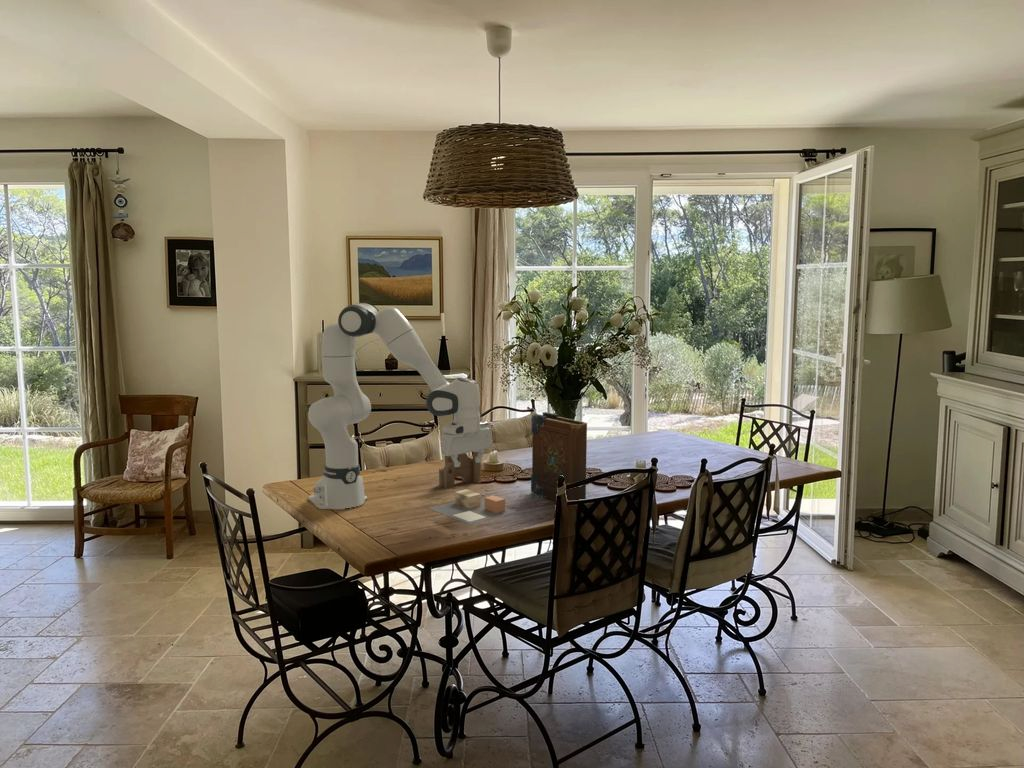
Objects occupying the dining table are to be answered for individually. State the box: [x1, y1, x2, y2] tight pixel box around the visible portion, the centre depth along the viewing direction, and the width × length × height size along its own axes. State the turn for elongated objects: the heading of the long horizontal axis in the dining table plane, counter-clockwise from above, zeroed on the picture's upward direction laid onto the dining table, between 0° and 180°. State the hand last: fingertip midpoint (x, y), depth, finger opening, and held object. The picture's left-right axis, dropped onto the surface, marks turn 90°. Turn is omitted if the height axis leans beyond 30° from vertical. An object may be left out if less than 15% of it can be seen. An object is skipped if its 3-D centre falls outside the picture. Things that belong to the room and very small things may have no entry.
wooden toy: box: [438, 451, 482, 490], centre depth 289 cm, size 16×7×25 cm, turn 120°
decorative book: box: [530, 411, 588, 501], centre depth 270 cm, size 23×7×30 cm, turn 39°
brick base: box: [454, 489, 482, 508], centre depth 260 cm, size 8×5×4 cm, turn 42°
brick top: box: [484, 495, 506, 513], centre depth 254 cm, size 6×4×4 cm, turn 42°
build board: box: [428, 499, 517, 525], centre depth 254 cm, size 23×20×2 cm
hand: (468, 464), depth 258 cm, fingers open, 8 cm apart
